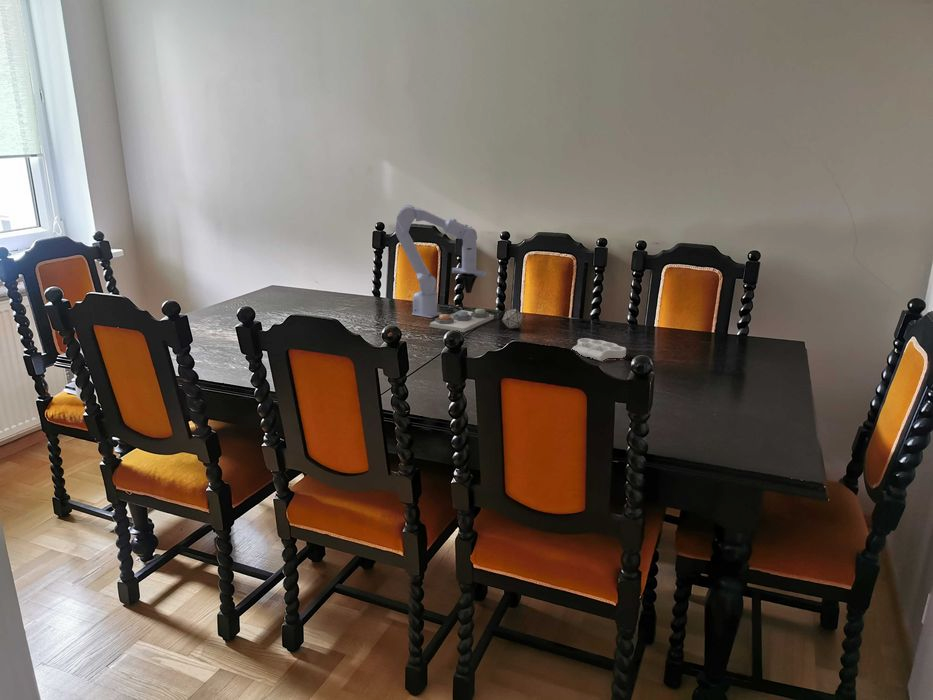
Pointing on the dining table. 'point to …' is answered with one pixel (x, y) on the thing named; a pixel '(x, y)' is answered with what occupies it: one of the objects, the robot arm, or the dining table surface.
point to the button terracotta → (444, 317)
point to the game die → (512, 318)
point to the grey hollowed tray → (599, 349)
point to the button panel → (462, 321)
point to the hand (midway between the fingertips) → (468, 292)
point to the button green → (479, 311)
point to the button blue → (462, 314)
